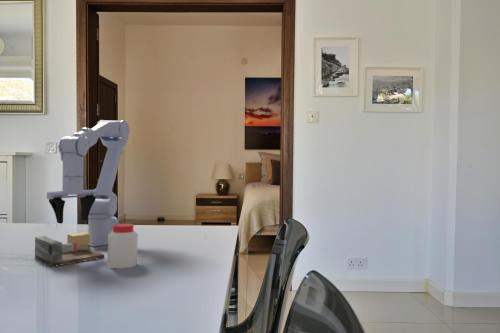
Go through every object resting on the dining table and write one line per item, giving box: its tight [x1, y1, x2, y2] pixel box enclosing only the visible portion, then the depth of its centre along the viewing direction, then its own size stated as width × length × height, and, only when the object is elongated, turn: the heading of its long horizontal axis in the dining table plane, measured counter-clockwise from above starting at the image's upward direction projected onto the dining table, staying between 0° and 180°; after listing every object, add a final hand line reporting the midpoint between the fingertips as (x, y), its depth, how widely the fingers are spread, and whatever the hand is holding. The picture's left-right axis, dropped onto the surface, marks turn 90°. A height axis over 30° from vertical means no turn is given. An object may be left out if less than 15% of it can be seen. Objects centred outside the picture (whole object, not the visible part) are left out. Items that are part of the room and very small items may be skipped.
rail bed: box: [34, 235, 105, 267], centre depth 114 cm, size 14×13×6 cm
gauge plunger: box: [62, 242, 77, 252], centre depth 109 cm, size 5×2×2 cm, turn 137°
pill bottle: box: [107, 223, 139, 270], centre depth 108 cm, size 8×8×11 cm
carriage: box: [66, 232, 90, 250], centre depth 119 cm, size 5×4×4 cm
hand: (72, 221), depth 119 cm, fingers open, 7 cm apart
